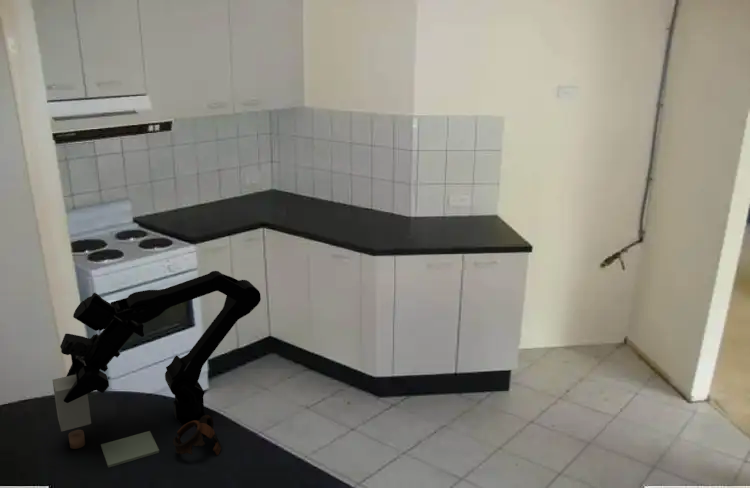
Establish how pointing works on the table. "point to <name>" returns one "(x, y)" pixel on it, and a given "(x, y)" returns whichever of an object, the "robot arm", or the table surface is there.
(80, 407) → the gray rectangular block
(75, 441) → the brown round lump
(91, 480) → the table surface
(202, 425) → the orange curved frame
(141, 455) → the sage mat
